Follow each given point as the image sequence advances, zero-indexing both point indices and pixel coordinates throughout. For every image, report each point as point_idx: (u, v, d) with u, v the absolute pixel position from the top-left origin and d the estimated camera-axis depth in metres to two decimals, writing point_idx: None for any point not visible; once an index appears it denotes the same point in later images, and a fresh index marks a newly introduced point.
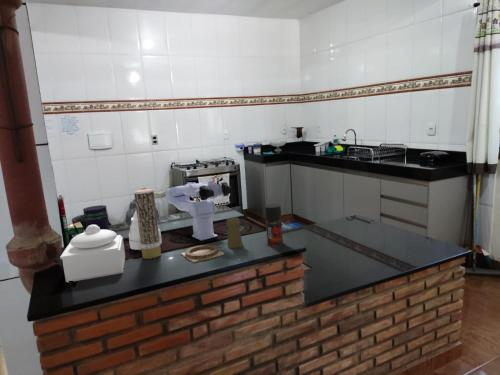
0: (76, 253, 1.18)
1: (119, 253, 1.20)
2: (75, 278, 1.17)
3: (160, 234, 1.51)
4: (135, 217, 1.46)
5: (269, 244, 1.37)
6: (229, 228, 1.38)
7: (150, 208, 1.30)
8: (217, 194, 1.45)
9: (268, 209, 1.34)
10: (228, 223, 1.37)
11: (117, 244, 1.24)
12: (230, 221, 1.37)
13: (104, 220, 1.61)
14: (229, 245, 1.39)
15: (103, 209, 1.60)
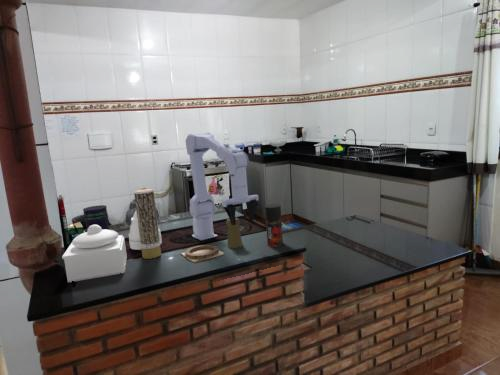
0: (78, 253, 1.17)
1: (121, 253, 1.20)
2: (77, 278, 1.17)
3: (160, 234, 1.51)
4: (135, 217, 1.46)
5: (269, 244, 1.37)
6: (229, 228, 1.38)
7: (150, 208, 1.30)
8: None
9: (268, 209, 1.34)
10: (228, 223, 1.37)
11: (119, 244, 1.24)
12: None
13: (104, 220, 1.61)
14: (229, 245, 1.39)
15: (103, 209, 1.60)
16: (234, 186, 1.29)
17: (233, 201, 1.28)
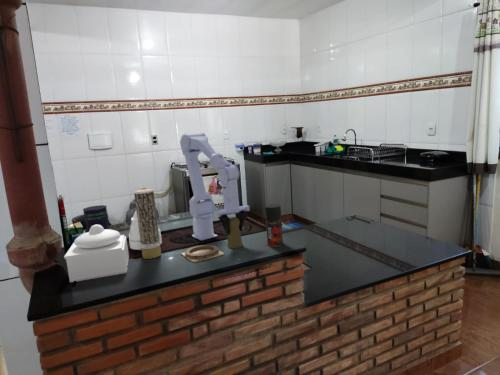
0: (80, 253, 1.17)
1: (123, 253, 1.20)
2: (79, 278, 1.17)
3: (160, 234, 1.51)
4: (135, 217, 1.46)
5: (269, 244, 1.37)
6: (229, 228, 1.38)
7: (150, 208, 1.30)
8: None
9: (268, 209, 1.34)
10: None
11: (121, 244, 1.24)
12: (230, 221, 1.37)
13: (104, 220, 1.61)
14: (229, 245, 1.39)
15: (103, 209, 1.60)
16: (226, 198, 1.35)
17: (225, 212, 1.35)
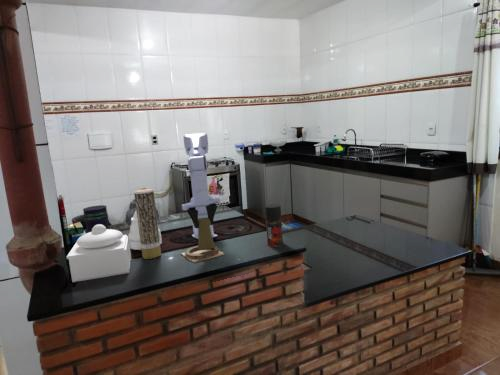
0: (82, 253, 1.17)
1: (125, 253, 1.20)
2: (81, 278, 1.17)
3: (160, 234, 1.51)
4: (135, 217, 1.46)
5: (269, 244, 1.37)
6: (199, 229, 1.31)
7: (150, 208, 1.30)
8: None
9: (268, 209, 1.34)
10: (198, 223, 1.30)
11: (123, 244, 1.24)
12: (200, 221, 1.30)
13: (104, 220, 1.61)
14: (199, 247, 1.31)
15: (103, 209, 1.60)
16: (192, 189, 1.29)
17: (193, 205, 1.28)
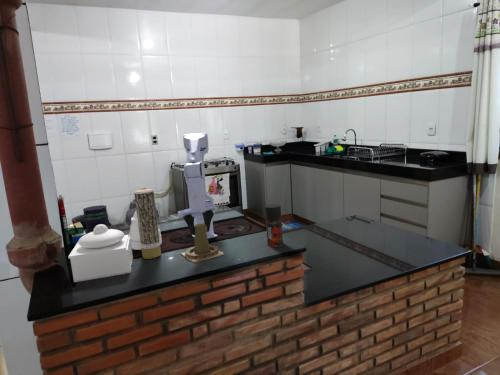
0: (84, 253, 1.17)
1: (127, 253, 1.20)
2: (83, 278, 1.17)
3: (160, 234, 1.51)
4: (135, 217, 1.46)
5: (269, 244, 1.37)
6: (196, 235, 1.30)
7: (150, 208, 1.30)
8: None
9: (268, 209, 1.34)
10: None
11: (125, 244, 1.24)
12: (196, 227, 1.29)
13: (104, 220, 1.61)
14: (196, 253, 1.31)
15: (103, 209, 1.60)
16: (188, 196, 1.29)
17: (189, 211, 1.27)
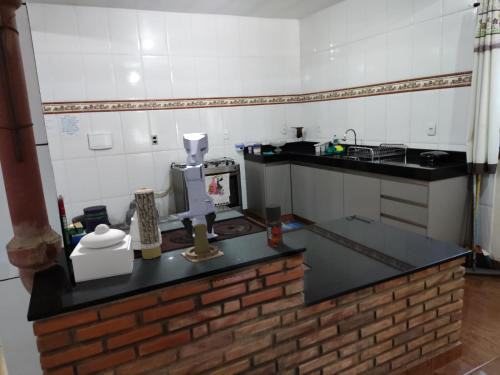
0: (85, 253, 1.17)
1: (128, 253, 1.20)
2: (84, 278, 1.17)
3: (160, 234, 1.51)
4: (135, 217, 1.46)
5: (269, 244, 1.37)
6: (196, 235, 1.30)
7: (150, 208, 1.30)
8: None
9: (268, 209, 1.34)
10: (194, 230, 1.30)
11: (126, 244, 1.24)
12: (196, 227, 1.29)
13: (104, 220, 1.61)
14: (196, 253, 1.31)
15: (103, 209, 1.60)
16: None
17: (189, 214, 1.27)
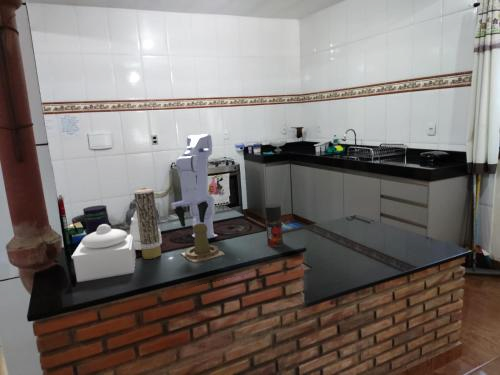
0: (87, 253, 1.17)
1: (130, 253, 1.19)
2: (86, 278, 1.17)
3: (160, 234, 1.51)
4: (135, 217, 1.46)
5: (269, 244, 1.37)
6: (196, 235, 1.30)
7: (150, 208, 1.30)
8: None
9: (268, 209, 1.34)
10: (194, 230, 1.30)
11: (128, 244, 1.23)
12: (196, 227, 1.29)
13: (104, 220, 1.61)
14: (196, 253, 1.31)
15: (103, 209, 1.60)
16: (181, 188, 1.34)
17: (182, 203, 1.32)
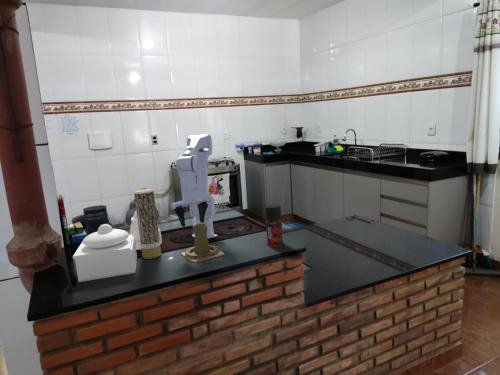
0: (88, 253, 1.17)
1: (131, 253, 1.19)
2: (87, 278, 1.17)
3: (160, 234, 1.51)
4: (135, 217, 1.46)
5: (269, 244, 1.37)
6: (196, 235, 1.30)
7: (150, 208, 1.30)
8: None
9: (268, 209, 1.34)
10: (194, 230, 1.30)
11: (129, 244, 1.23)
12: (196, 227, 1.29)
13: (104, 220, 1.61)
14: (196, 253, 1.31)
15: (103, 209, 1.60)
16: (181, 188, 1.34)
17: (182, 203, 1.32)
